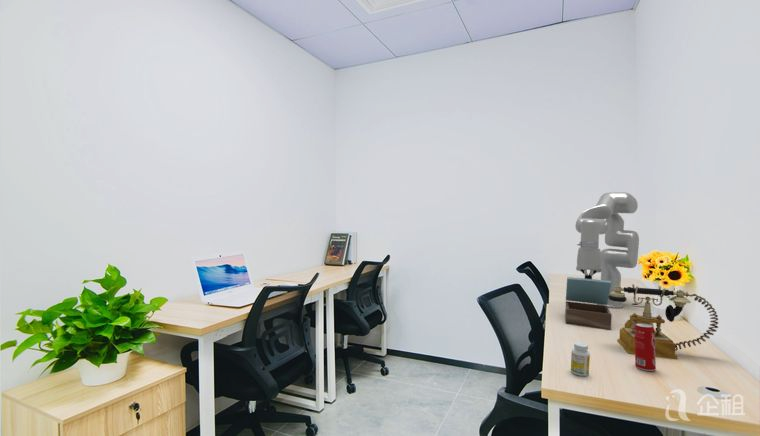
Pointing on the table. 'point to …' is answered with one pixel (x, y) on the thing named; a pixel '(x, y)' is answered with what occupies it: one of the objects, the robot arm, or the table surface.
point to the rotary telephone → (657, 319)
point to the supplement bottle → (580, 359)
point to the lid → (587, 290)
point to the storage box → (588, 315)
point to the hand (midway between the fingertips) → (588, 283)
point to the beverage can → (645, 346)
